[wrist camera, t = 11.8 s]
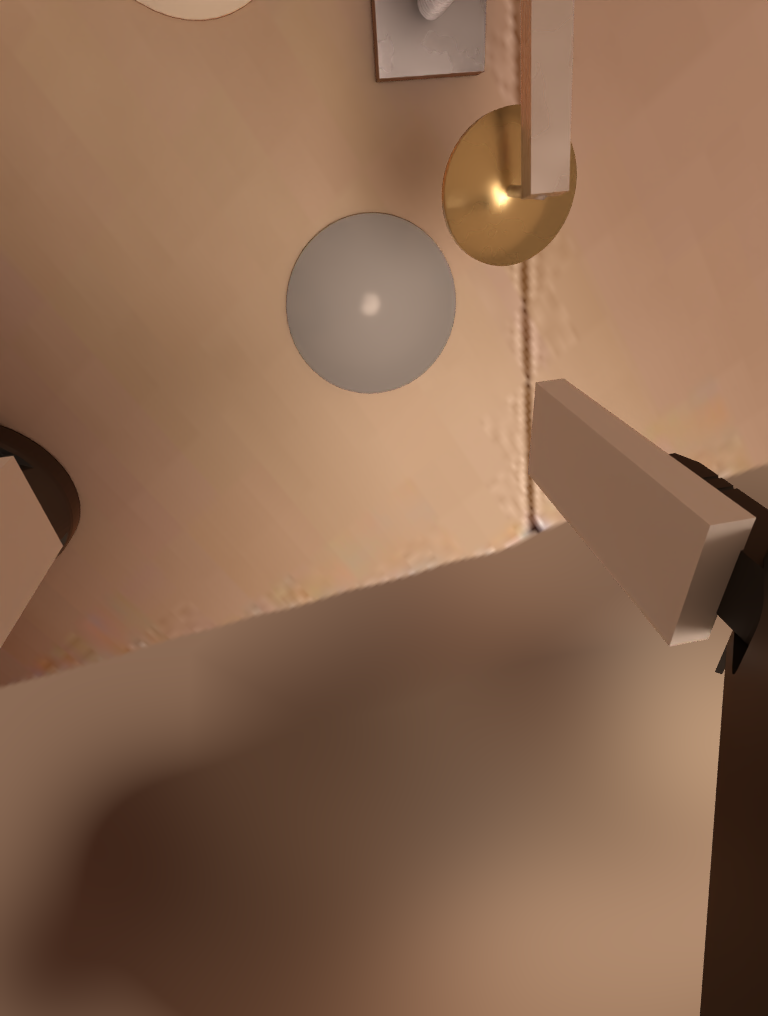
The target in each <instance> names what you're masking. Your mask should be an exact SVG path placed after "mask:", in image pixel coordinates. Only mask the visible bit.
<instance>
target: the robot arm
mask: <svg viewBox="0 0 768 1016" xmlns="http://www.w3.org/2000/svg"><path fill="white" fill-rule="evenodd" d="M528 474H529V475H530V476H531V478H532V479H533V480H534V481H535V482H536V484H537V485H538V486H539V487H540V489H541V490H542V491H543V492H544V493H545V495H546V496H547V497H548V498H549V500H550V501H551V502H552V503H553V504H554V506H555V507H556V508H557V509H558V511H559V512H560V513H561V514H562V516H563V517H564V518H565V519H566V520H567V522H568V523H569V524H570V525H571V527H572V528H573V529H574V530H575V531H576V533H577V534H578V535H579V536H580V538H581V539H582V540H583V541H584V542H585V543H586V545H587V546H588V547H589V549H591V551H592V552H593V553H594V555H595V556H596V557H597V558H598V560H599V561H600V562H601V563H602V564H603V566H604V567H605V568H606V569H607V570H608V572H609V573H610V574H611V575H612V577H613V578H614V579H615V580H616V582H617V583H618V584H619V585H620V586H621V588H622V589H623V590H624V591H625V592H626V594H627V595H628V596H629V597H630V599H631V600H632V601H633V602H634V604H635V605H636V606H637V607H638V608H639V610H640V611H641V612H642V613H643V615H644V616H645V617H646V618H647V620H648V621H649V622H650V623H651V624H652V626H653V627H654V628H655V629H656V631H657V632H658V633H659V634H660V635H661V637H662V638H663V639H664V640H665V642H666V643H667V644H668V645H669V646H674V645H678V644H684V643H690V642H695V641H700V640H705V639H708V638H709V635H710V633H711V630H712V628H713V625H714V622H715V620H716V617H717V615H719V617H720V618H721V619H722V620H723V621H724V622H725V623H726V624H727V625H728V626H729V627H730V628H731V629H732V630H733V631H732V633H731V636H730V638H729V640H728V643H727V645H726V648H725V650H724V652H723V655H722V657H721V659H720V661H719V664H718V666H717V668H716V671H715V672H717V673H720V674H722V673H723V671H724V669H725V677H724V690H723V704H722V718H721V732H720V746H719V761H718V773H717V787H716V801H715V815H714V829H713V842H712V856H711V870H710V884H709V899H708V911H707V912H708V913H707V925H706V940H705V953H704V968H703V980H702V994H701V1008H700V1016H768V509H766V508H765V507H763V506H762V505H760V504H759V503H758V502H756V501H755V500H753V499H752V498H750V497H749V496H747V495H746V494H745V493H743V492H741V491H740V490H739V489H734V488H733V485H731V484H730V483H728V482H727V481H726V480H724V479H723V478H718V475H717V474H715V473H714V472H713V471H711V470H710V469H708V468H707V467H705V466H704V465H702V464H701V463H699V462H697V461H694V460H691V459H689V458H686V457H684V456H681V455H678V454H676V453H673V454H667V453H666V452H665V451H663V450H662V449H660V448H659V447H658V446H656V445H655V444H654V443H652V442H651V441H649V440H648V439H647V438H645V437H644V436H642V435H641V434H640V433H638V432H637V431H636V430H634V429H633V428H631V427H630V426H629V425H627V424H626V423H624V422H623V421H622V420H620V419H619V418H618V417H616V416H615V415H613V414H612V413H611V412H609V411H608V410H606V409H605V408H604V407H602V406H601V405H600V404H598V403H597V402H595V401H594V400H593V399H591V398H590V397H588V396H587V395H586V394H584V393H583V392H582V391H580V390H579V389H577V388H576V387H575V386H573V385H572V384H570V383H569V382H568V381H566V380H565V379H557V380H550V381H543V382H536V387H535V398H534V410H533V421H532V433H531V445H530V456H529V468H528ZM79 518H80V504H79V498H78V495H77V492H76V489H75V487H74V484H73V483H72V481H71V479H70V477H69V476H68V474H67V473H66V471H65V470H64V469H63V468H62V466H61V465H60V464H59V463H58V462H57V461H56V460H55V459H54V458H53V457H52V456H51V455H50V454H49V453H48V452H46V451H45V450H44V449H43V448H41V447H40V446H39V445H37V444H36V443H34V442H33V441H31V440H29V439H28V438H26V437H24V436H22V435H20V434H18V433H16V432H14V431H12V430H10V429H7V428H5V427H2V426H0V648H1V646H2V645H3V643H4V641H5V640H6V638H7V636H8V635H9V633H10V632H11V630H12V628H13V627H14V625H15V623H16V622H17V620H18V619H19V617H20V615H21V614H22V612H23V610H24V609H25V607H26V605H27V604H28V602H29V601H30V599H31V597H32V596H33V594H34V592H35V591H36V589H37V588H38V586H39V584H40V583H41V581H42V579H43V578H44V576H45V575H46V573H47V571H48V570H49V568H50V566H51V565H52V563H53V562H54V560H55V559H56V558H57V557H58V556H59V555H60V554H61V553H62V551H63V550H64V549H65V547H66V546H67V544H68V543H69V541H70V539H71V538H72V536H73V534H74V533H75V531H76V529H77V526H78V523H79Z"/></svg>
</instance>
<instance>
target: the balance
mask: <svg viewBox="0 0 768 1016" xmlns="http://www.w3.org/2000/svg"><path fill="white" fill-rule="evenodd" d="M371 8H372V23H373V39H374V55H375V71H376V82H387V81H400V80H414V79H428V78H442V77H456V76H470V75H478V74H480V73H482V72H484V63H485V27H486V0H371ZM573 31H574V0H521V105H511V106H506V107H503V108H500V109H497V110H494V111H492V112H490V113H488V114H486V115H484V116H483V117H481V118H480V119H478V120H477V121H476V122H475V123H473V124H472V125H471V126H470V127H469V128H468V129H467V130H466V132H465V133H464V134H463V135H462V136H461V138H460V139H459V141H458V142H457V144H456V145H455V147H454V149H453V151H452V153H451V155H450V158H449V160H448V163H447V166H446V170H445V173H444V178H443V184H442V208H443V214H444V218H445V222H446V225H447V227H448V230H449V232H450V234H451V236H452V237H453V239H454V241H455V242H456V243H457V245H458V246H459V247H460V248H461V249H462V250H463V251H464V252H465V253H466V254H468V255H469V256H471V257H472V258H474V259H476V260H478V261H481V262H483V263H486V264H490V265H495V266H508V265H514V264H517V263H520V262H523V261H525V260H527V259H529V258H531V257H533V256H534V255H536V254H538V253H539V252H540V251H541V250H543V249H544V248H545V247H546V246H547V245H548V244H549V243H550V242H551V241H552V240H553V238H554V237H555V236H556V235H557V233H558V232H559V230H560V229H561V227H562V226H563V224H564V222H565V220H566V218H567V216H568V214H569V211H570V208H571V206H572V202H573V198H574V194H575V188H576V178H577V169H576V159H575V154H574V150H573V146H572V143H571V105H572V68H573Z"/></svg>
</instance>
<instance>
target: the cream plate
mask: <svg viewBox="0 0 768 1016" xmlns="http://www.w3.org/2000/svg"><path fill="white" fill-rule="evenodd" d="M136 1H137V2H139V3H141V4H142V5H144V6H146V7H148V8H150V9H152V10H154V11H156V12H159V13H162V14H165V15H167V16H170V17H174V18H179V19H184V20H200V21H203V20H210V19H217V18H220V17H223V16H226V15H229V14H232V13H234V12H235V11H237V10H239V9H241V8H243V7H244V6H246V5H247V4H248V3H249V2H251V1H252V0H136Z"/></svg>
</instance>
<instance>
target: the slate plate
mask: <svg viewBox="0 0 768 1016" xmlns="http://www.w3.org/2000/svg"><path fill="white" fill-rule="evenodd" d="M455 309H456V294H455V286H454V281H453V277H452V274H451V270H450V267H449V265H448V263H447V261H446V259H445V257H444V255H443V253H442V252H441V250H440V249H439V247H438V246H437V245H436V244H435V242H434V241H433V240H432V239H431V238H430V237H429V236H428V235H427V234H426V233H425V232H424V231H422V230H421V229H420V228H418V227H417V226H415V225H414V224H412V223H410V222H408V221H406V220H404V219H402V218H399V217H395V216H392V215H388V214H381V213H363V214H357V215H352V216H349V217H346V218H343V219H340V220H338V221H336V222H334V223H332V224H330V225H329V226H327V227H326V228H325V229H323V230H322V231H320V232H319V233H318V234H317V235H316V236H315V237H314V238H313V239H312V240H311V241H310V242H309V243H308V245H307V246H306V247H305V248H304V250H303V251H302V253H301V255H300V256H299V258H298V260H297V261H296V264H295V266H294V268H293V271H292V273H291V277H290V281H289V284H288V291H287V307H286V310H287V319H288V324H289V328H290V333H291V335H292V338H293V341H294V343H295V345H296V347H297V349H298V351H299V353H300V354H301V356H302V357H303V359H304V360H305V362H306V363H307V364H308V365H309V366H310V367H311V368H312V369H313V371H315V372H316V373H317V374H318V375H319V376H320V377H322V378H323V379H325V380H326V381H328V382H329V383H331V384H333V385H335V386H337V387H339V388H342V389H345V390H348V391H352V392H358V393H369V394H370V393H382V392H387V391H391V390H394V389H397V388H400V387H402V386H404V385H406V384H409V383H410V382H412V381H413V380H415V379H417V378H418V377H419V376H420V375H422V374H423V373H424V372H425V371H426V370H427V369H428V368H429V367H430V366H431V365H432V364H433V363H434V362H435V361H436V359H437V358H438V357H439V355H440V354H441V352H442V350H443V349H444V347H445V345H446V343H447V341H448V338H449V336H450V333H451V330H452V327H453V323H454V317H455Z"/></svg>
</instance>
